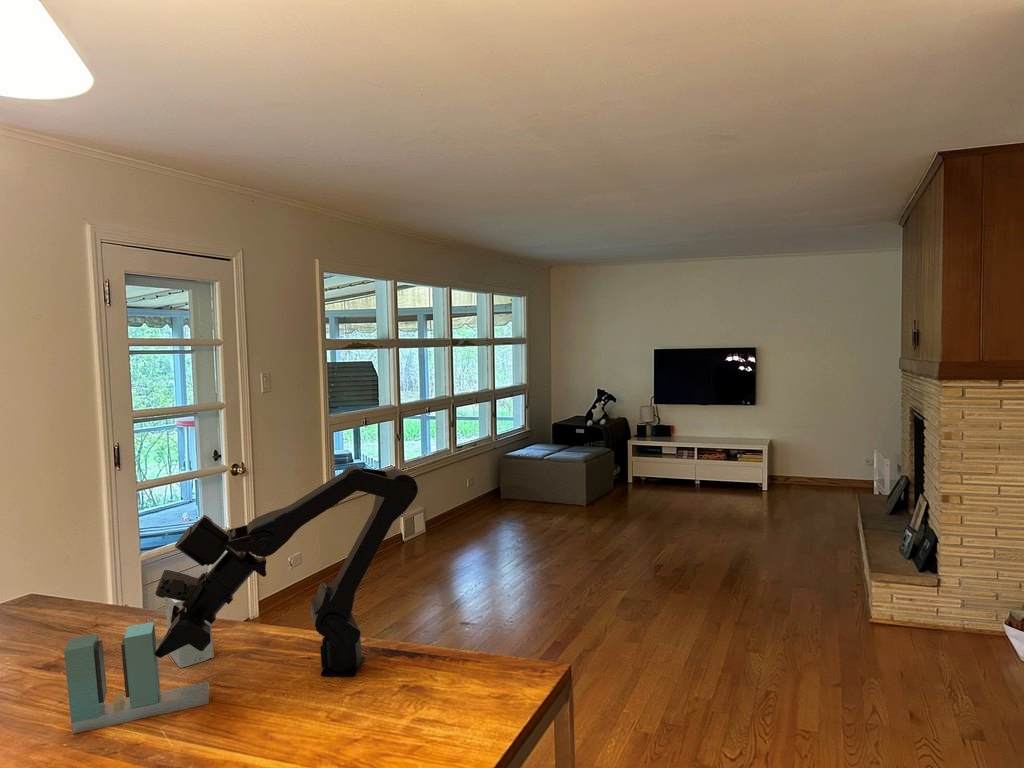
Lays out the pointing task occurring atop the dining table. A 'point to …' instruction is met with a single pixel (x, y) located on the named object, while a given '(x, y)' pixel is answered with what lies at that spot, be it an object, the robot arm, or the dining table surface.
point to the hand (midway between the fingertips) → (157, 655)
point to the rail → (92, 690)
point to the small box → (188, 653)
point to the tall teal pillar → (140, 665)
